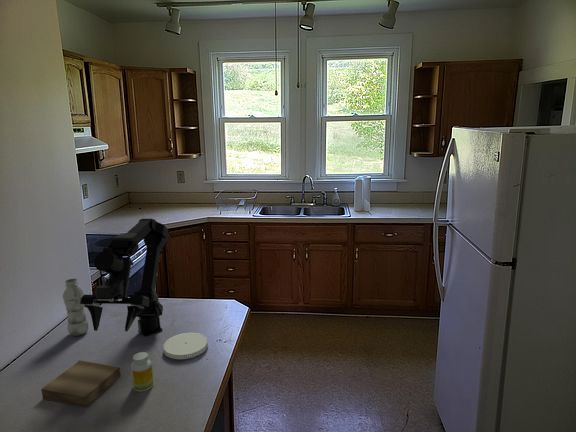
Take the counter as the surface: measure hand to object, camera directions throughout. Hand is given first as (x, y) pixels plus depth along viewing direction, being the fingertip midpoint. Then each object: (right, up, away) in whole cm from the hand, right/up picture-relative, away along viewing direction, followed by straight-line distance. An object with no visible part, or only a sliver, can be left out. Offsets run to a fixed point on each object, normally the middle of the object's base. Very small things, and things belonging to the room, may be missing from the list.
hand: (110, 331), depth 119 cm
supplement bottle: (+11, -15, -3) cm, 19 cm away
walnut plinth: (-6, -15, -3) cm, 17 cm away
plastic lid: (+18, -11, +16) cm, 26 cm away
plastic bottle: (-23, -9, +27) cm, 36 cm away
